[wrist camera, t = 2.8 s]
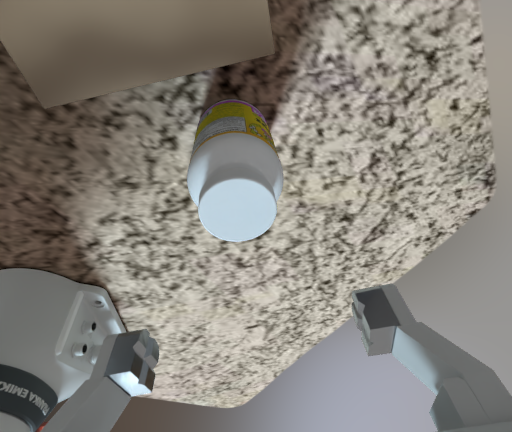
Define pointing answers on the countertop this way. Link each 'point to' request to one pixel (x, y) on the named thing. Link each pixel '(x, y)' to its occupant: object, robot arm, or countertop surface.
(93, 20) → the walnut stool
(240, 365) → the countertop surface
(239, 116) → the supplement bottle
